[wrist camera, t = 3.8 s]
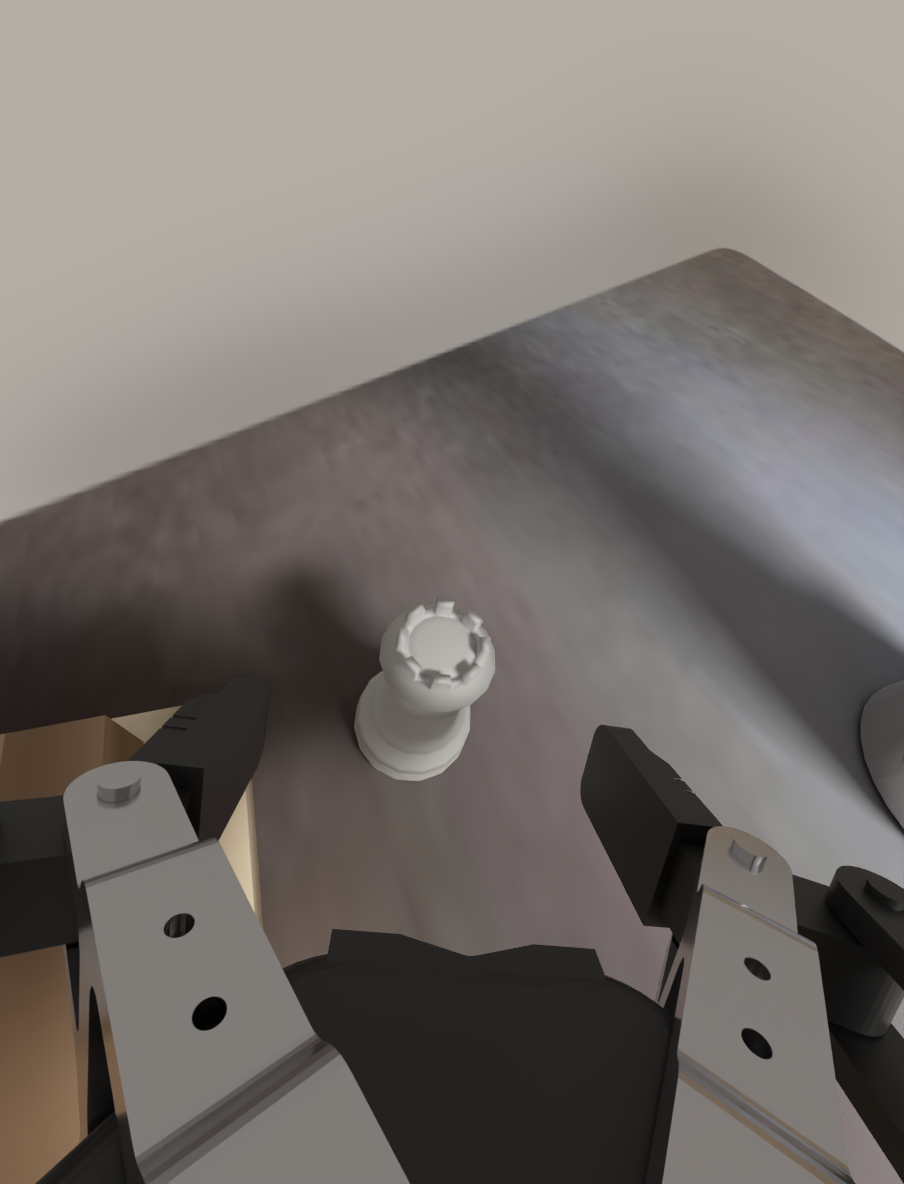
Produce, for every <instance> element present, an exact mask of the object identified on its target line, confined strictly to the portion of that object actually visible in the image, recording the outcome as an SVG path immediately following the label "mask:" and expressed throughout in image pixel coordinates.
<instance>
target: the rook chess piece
mask: <svg viewBox="0 0 904 1184" xmlns="http://www.w3.org/2000/svg"><path fill="white" fill-rule="evenodd" d="M454 602H455V600H450V599H442V598H437V600H436V604H434V603H428V604H424V605H422V604H421V602H420V603H418V604H417V605H415V606H414V607H412V608H409V609H407V610H406V611H405V612H403V613H402V614H400V615H399V616H398V617H396V618H395V619H393V620H392V622H391V623H390V625H389V627H388V628H387V630H386V632H385V633H384V635H383V637H382V639H381V648H380V656H379V661H380V664H381V667H382V670H383V671H381V672H380V673H379V674H377V675H376V676H375V677H373V678H372V679H371V680H370V681H369V683H368V685H367V686H366V688H365V690H364V691H363V693H362V695H361V697H360V698H359V703H358V705H357V710H356V717H355V725H354V729H355V733H356V737H357V740H358V744H359V747H360V750H361V752H362V753H363V754H364V755H365V757H366V758H367V759H368V760H369V762H370V763H371V764H372V765H373V767H374V768H375V769H377V770H379V771H381V772H383V773H385V774H387V775H389V776H390V777H392V778H394V779H397V780H412V781H421V780H424V779H427V778H429V777H432V776H435V775H438V774H440V773H442V772H443V771H444V770H445V769H446V768H447V767H448V766H449V765H451V764H452V763H453V762H454V761H455V760H456V759H457V758H458V756H459V754H460V752H461V750H462V748H463V745H464V743H465V741H466V738H467V736H468V734H469V731H470V705H471V704H472V703H473V702H474V701H476V700H477V699H478V698H479V697H480V696H481V695H482V694H483V693H484V692H486V691H487V688H488V686H489V684H490V682H491V679H492V677H493V675H494V672H495V650H494V647H493V645H492V643H491V640H490V636H488V634H487V631H486V630H485V629H484V628H483V627H482V626H481V624H482V622H483V620H482V619H481V618H480V617H479V616H478V614H477V613H476V612H475V611H474V610H473V609H472V608H471V609H470V610H469V611H468V612H467V613H466V612H464V611H462V610H460V609H458V608H456V607H454Z"/></svg>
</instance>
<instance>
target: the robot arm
mask: <svg viewBox="0 0 904 1184" xmlns="http://www.w3.org/2000/svg"><path fill="white" fill-rule="evenodd" d="M269 692H270V682H269V680H268V679H262V678H254V677H247V676H240V675H235V676H233V677H232V678H231V680H230V681H229V682H228V683H227V684H226V685H225V687H224V688H223V689H222V690H221V691H220V692H219V693H218V694H211V693H204V694H202V695H200V696H198V697H195V698H193V699H191V700H189V701H187V702H185V703H184V704H183V705H182V706H181V707H180V708H179V709H178V710H177V711H176V712H175V713H174V714H173V716H172V718H169V719H168V720H167V721H166V722H165V723H164V724H163V725H162V728H159V729H158V731H157V732H156V733H155V734H154V735H153V736H152V737H151V738H150V739H149V740H148V741H147V742H146V743H145V744H144V745H143V746H142V747H141V748H140V749H139V750H138V751H137V752H136V753H135V754H134V755H133V756H132V757H131V758H130V759H129V760H128V761H124V762H116V763H111V764H107V765H103V766H100V767H97V768H95V769H92V770H90V771H88V772H86V773H84V774H82V775H81V776H79V777H78V778H76V779H75V780H74V781H73V782H72V783H71V784H70V785H69V786H68V787H67V789H66V790H65V793H64V795H60V796H53V797H44V798H33V799H23V800H12V801H2V802H0V958H1V957H6V956H10V955H15V954H20V953H25V952H30V951H35V950H40V949H45V948H50V947H55V946H60V945H63V955H64V963H65V971H66V980H67V988H68V996H69V1004H70V1013H71V1021H72V1029H73V1037H74V1045H75V1054H76V1065H77V1081H78V1102H79V1117H80V1129H81V1140H82V1141H81V1142H80V1143H79V1144H78V1145H77V1146H76V1147H75V1148H74V1149H73V1150H71V1151H70V1152H69V1153H68V1154H67V1155H66V1156H65V1157H64V1158H63V1159H62V1160H61V1161H59V1162H58V1163H57V1164H56V1165H55V1166H54V1167H53V1168H52V1169H51V1170H50V1171H48V1172H47V1173H46V1174H45V1175H44V1176H43V1177H42V1178H41V1179H40V1180H39V1181H38V1182H36V1183H35V1184H855V1183H854V1181H853V1180H852V1178H851V1175H850V1172H849V1169H848V1164H847V1158H846V1151H845V1143H844V1136H843V1129H842V1122H841V1115H840V1107H839V1100H838V1093H837V1086H836V1080H837V1082H838V1083H839V1085H840V1086H841V1088H842V1089H843V1091H844V1092H845V1094H846V1095H847V1097H848V1099H849V1100H850V1102H851V1103H852V1105H853V1106H854V1108H855V1109H856V1111H857V1112H858V1114H859V1115H860V1117H861V1119H862V1120H863V1122H864V1123H865V1125H866V1126H867V1128H868V1129H869V1131H870V1132H871V1134H872V1135H873V1137H874V1138H875V1140H876V1142H877V1143H878V1145H879V1146H880V1148H881V1149H882V1151H883V1152H884V1154H885V1155H886V1157H887V1158H888V1160H889V1162H890V1163H891V1165H892V1166H893V1168H894V1169H895V1171H896V1172H897V1174H898V1175H899V1177H900V1178H901V1180H902V1182H903V1183H904V1039H903V1037H902V1036H901V1035H900V1034H899V1032H898V1031H897V1030H896V1029H895V1028H894V1026H893V1025H892V1024H891V1021H892V1019H893V1017H894V1015H895V1013H896V1011H897V1009H898V1008H899V1006H900V1004H901V1002H902V1000H903V998H904V889H903V888H901V887H900V886H898V885H897V884H895V883H893V882H891V881H890V880H888V879H886V878H884V877H882V876H880V875H878V874H875V873H873V872H870V871H868V870H865V869H862V868H858V867H854V866H841V867H839V868H838V869H837V870H836V873H835V875H834V877H833V880H832V882H831V884H830V887H829V886H826V885H823V884H820V883H817V882H814V881H810V880H807V879H804V878H801V877H798V876H795V875H792V871H791V869H790V867H789V865H788V863H787V862H786V861H785V859H784V858H783V857H782V856H781V855H780V854H779V853H778V852H777V851H775V850H774V849H773V848H772V847H770V846H769V845H768V844H766V843H765V842H763V841H762V840H760V839H758V838H756V837H754V836H752V835H750V834H748V833H746V832H744V831H741V830H738V829H735V828H731V827H725V826H722V824H721V823H720V822H719V821H718V820H717V819H716V818H715V816H714V815H713V814H712V813H711V812H710V811H709V810H708V808H707V807H706V806H705V805H704V804H703V803H702V801H701V800H700V799H699V798H698V797H697V796H696V795H695V793H692V790H691V789H690V788H689V787H688V785H687V784H686V783H685V782H684V781H681V777H680V776H679V775H678V774H677V773H676V772H675V770H674V769H673V768H672V767H671V766H670V765H669V764H668V763H667V762H665V761H664V760H662V759H661V758H660V757H658V756H657V755H655V754H654V753H653V752H651V751H650V750H649V749H648V748H647V747H646V745H645V744H644V743H643V742H642V741H641V739H640V738H639V737H638V736H637V735H636V733H635V732H634V731H633V730H632V729H629V728H621V727H614V726H606V725H600V726H599V727H598V728H597V729H596V731H595V733H594V736H593V740H592V744H591V747H590V751H589V754H588V758H587V762H586V765H585V769H584V772H583V776H582V780H581V800H582V804H583V807H584V809H585V811H586V813H587V815H588V817H589V819H590V821H591V823H592V825H593V827H594V829H595V831H596V833H597V835H598V837H599V839H600V841H601V843H602V845H603V847H604V849H605V851H606V852H607V854H608V856H609V858H610V860H611V862H612V864H613V866H614V868H615V870H616V872H617V874H618V876H619V878H620V880H621V882H622V884H623V886H624V888H625V890H626V892H627V894H628V896H629V898H630V900H631V902H632V904H633V906H634V908H635V910H636V912H637V914H638V916H639V918H640V920H641V922H642V924H643V926H655V927H667V928H670V929H671V931H672V935H671V938H670V941H669V943H668V946H667V949H666V954H665V958H664V963H663V967H662V971H661V976H660V980H659V985H658V989H657V993H656V998H655V1002H654V1001H653V1000H651V999H650V998H649V997H647V996H646V995H644V994H643V993H641V992H639V991H637V990H636V989H634V988H632V987H630V986H629V985H627V984H625V983H622V982H620V981H618V980H616V979H613V978H611V977H608V976H605V975H604V972H603V970H602V967H601V964H600V962H599V959H598V956H597V954H596V951H595V949H586V948H573V947H560V946H547V945H534V944H533V945H528V946H523V947H518V948H513V949H508V950H503V951H498V952H493V953H488V954H483V955H478V956H466V955H462V954H459V953H456V952H453V951H450V950H447V949H444V948H441V947H438V946H434V945H431V944H428V943H425V942H422V941H419V940H416V939H413V938H410V937H407V936H404V935H401V934H391V933H378V932H365V931H352V930H338V929H332V934H331V940H330V945H329V951H328V954H326V955H321V956H316V957H312V958H309V959H306V960H302V961H299V962H296V963H294V964H292V965H289V966H287V967H285V968H283V969H282V967H281V965H280V963H279V961H278V959H277V957H276V955H275V953H274V951H273V949H272V947H271V945H270V943H269V941H268V939H267V937H266V935H265V933H264V931H263V929H262V927H261V925H260V923H259V921H258V919H257V917H256V915H255V913H254V911H253V909H252V907H251V905H250V903H249V901H248V899H247V897H246V895H245V893H244V890H243V888H242V886H241V884H240V882H239V880H238V878H237V876H236V874H235V872H234V870H233V868H232V866H231V864H230V862H229V860H228V858H227V856H226V854H225V852H224V850H223V848H222V846H221V845H220V843H219V839H220V837H221V835H222V834H223V832H224V830H225V828H226V826H227V824H228V822H229V820H230V818H231V816H232V815H233V813H234V811H235V809H236V807H237V805H238V803H239V801H240V799H241V797H242V795H243V794H244V792H245V790H246V788H247V786H248V784H249V782H250V780H251V778H252V776H253V775H254V773H255V771H256V769H257V766H258V764H259V761H260V758H261V754H262V750H263V745H264V738H265V729H266V720H267V711H268V701H269ZM861 743H862V748H863V753H864V757H865V761H866V763H867V766H868V769H869V771H870V774H871V776H872V779H873V782H874V783H875V785H876V787H877V789H878V791H879V793H880V794H881V796H882V798H883V800H884V802H885V803H886V805H887V807H888V808H889V809H890V811H891V812H892V813H893V815H894V816H895V818H896V819H897V820H898V822H899V823H900V824H901V826H902V827H903V829H904V680H901V681H898V682H896V683H893V684H890V685H888V686H885V687H883V688H881V689H880V690H878V691H877V692H875V693H874V694H872V696H871V697H870V699H869V700H868V702H867V703H866V705H865V706H864V710H863V714H862V717H861Z"/></svg>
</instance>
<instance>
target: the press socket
mask: <svg viewBox="0 0 904 1184" xmlns="http://www.w3.org/2000/svg"><path fill="white" fill-rule="evenodd" d="M180 707H181V706H176V707H171V708H166V709H160V710H155V711H150V712H144V713H139V714H134V715H128V716H123V717H118V718H112V719H110V718H109V717H107V716H106V715H103V716H98V717H92V718H87V719H82V720H76V721H71V722H65V723H60V724H55V725H49V726H44V727H38V728H33V729H27V730H22V731H17V732H11V733H6V734H0V802H2V801H12V800H23V799H33V798H44V797H53V796H60V795H64V793H65V790H66V789H67V787H68V786H69V785H70V784H71V783H72V782H73V781H74V780H75V779H76V778H78V777H79V776H81V775H82V774H84V773H86V772H88V771H90V770H92V769H95V768H97V767H100V766H103V765H107V764H111V763H116V762H124V761H128V760H129V759H130V758H131V757H132V756H133V755H134V754H135V753H136V752H137V751H138V750H139V749H140V748H141V747H142V746H143V745H144V744H145V743H146V742H147V741H148V740H149V739H150V738H151V737H152V736H153V735H154V734H155V733H156V732H157V731H158V729H159V728H162V725H163V724H164V723H165V722H166V721H167V720H168V719H169V718H172V716H173V714H174V713H175V712H176V711H177V710H178V709H179V708H180ZM219 843H220V845H221V846H222V848H223V850H224V852H225V854H226V856H227V858H228V860H229V862H230V864H231V866H232V868H233V870H234V872H235V874H236V876H237V878H238V880H239V882H240V884H241V886H242V888H243V890H244V893H245V895H246V897H247V899H248V901H249V903H250V905H251V907H252V909H253V911H254V913H255V915H256V917H257V919H258V921H259V923H260V925H261V927H262V929H263V918H262V905H261V891H260V878H259V865H258V852H257V838H256V825H255V812H254V799H253V785H252V778H251V780H250V782H249V784H248V786H247V788H246V790H245V792H244V794H243V795H242V797H241V799H240V801H239V803H238V805H237V807H236V809H235V811H234V813H233V815H232V816H231V818H230V820H229V822H228V824H227V826H226V828H225V830H224V832H223V834H222V835H221V837H220V839H219ZM81 1141H82V1140H81V1129H80V1117H79V1102H78V1081H77V1065H76V1054H75V1045H74V1037H73V1029H72V1021H71V1013H70V1004H69V996H68V988H67V980H66V971H65V963H64V955H63V945H60V946H55V947H50V948H45V949H40V950H35V951H30V952H25V953H20V954H15V955H10V956H6V957H1V958H0V1184H35V1183H36V1182H38V1181H39V1180H40V1179H41V1178H42V1177H43V1176H44V1175H45V1174H46V1173H47V1172H48V1171H50V1170H51V1169H52V1168H53V1167H54V1166H55V1165H56V1164H57V1163H58V1162H59V1161H61V1160H62V1159H63V1158H64V1157H65V1156H66V1155H67V1154H68V1153H69V1152H70V1151H71V1150H73V1149H74V1148H75V1147H76V1146H77V1145H78V1144H79V1143H80V1142H81Z"/></svg>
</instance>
